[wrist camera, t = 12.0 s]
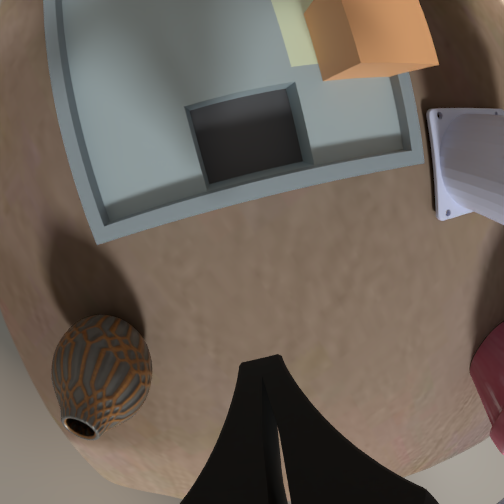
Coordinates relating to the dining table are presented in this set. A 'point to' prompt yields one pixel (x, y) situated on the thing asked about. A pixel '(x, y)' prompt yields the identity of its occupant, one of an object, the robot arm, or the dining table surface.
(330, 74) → the block
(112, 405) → the vase
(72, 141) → the box
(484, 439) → the dining table surface
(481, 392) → the plant pot
